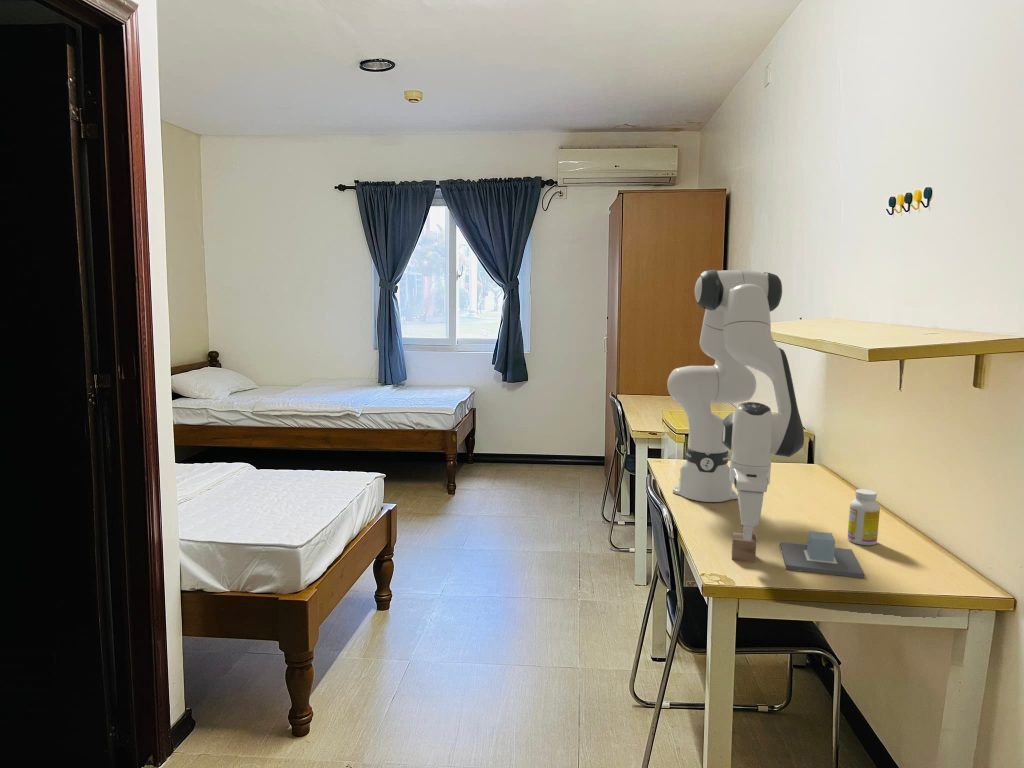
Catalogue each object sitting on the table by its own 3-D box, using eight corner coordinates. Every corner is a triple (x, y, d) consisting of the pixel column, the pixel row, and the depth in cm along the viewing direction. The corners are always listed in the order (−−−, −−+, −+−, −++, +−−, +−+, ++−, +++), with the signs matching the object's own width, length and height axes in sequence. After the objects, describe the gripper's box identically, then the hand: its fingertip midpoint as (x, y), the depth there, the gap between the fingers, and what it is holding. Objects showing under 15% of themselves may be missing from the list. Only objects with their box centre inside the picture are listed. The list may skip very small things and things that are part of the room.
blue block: (806, 551, 168) (808, 530, 167) (829, 553, 167) (831, 533, 166) (809, 559, 163) (811, 538, 163) (833, 561, 162) (835, 540, 161)
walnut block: (731, 552, 170) (733, 532, 169) (753, 555, 168) (755, 534, 168) (731, 560, 165) (733, 539, 164) (754, 563, 164) (756, 542, 163)
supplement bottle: (880, 541, 178) (885, 492, 176) (871, 548, 174) (876, 497, 172) (852, 534, 183) (857, 486, 181) (842, 541, 178) (847, 491, 176)
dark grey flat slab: (779, 545, 174) (780, 541, 174) (851, 553, 170) (851, 549, 170) (786, 569, 160) (786, 564, 160) (864, 578, 156) (864, 573, 156)
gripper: (733, 463, 174) (730, 517, 176) (737, 484, 155) (733, 546, 156) (761, 465, 173) (757, 520, 174) (767, 486, 153) (763, 549, 155)
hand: (746, 532), depth 165 cm, fingers open, 8 cm apart
